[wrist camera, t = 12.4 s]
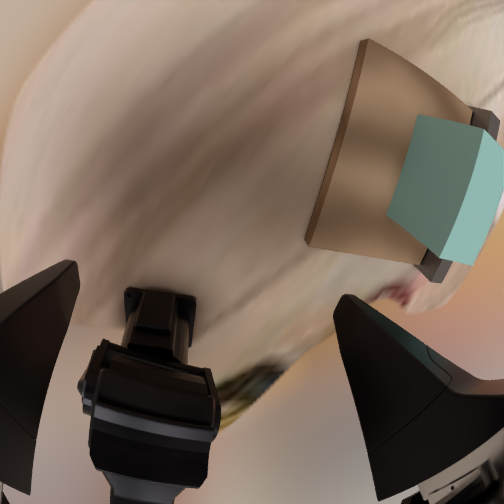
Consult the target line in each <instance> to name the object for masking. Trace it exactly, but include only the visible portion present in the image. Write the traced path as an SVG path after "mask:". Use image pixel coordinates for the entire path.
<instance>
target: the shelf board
mask: <svg viewBox="0 0 504 504" xmlns="http://www.w3.org/2000/svg"><path fill="white" fill-rule="evenodd" d="M418 114H419V115H425V116H430V117H435V118H441V119H445V120H450V121H454V122H459V123H463V124H467V125H470V121H471V116H472V110H471V109H470V108H469V107H468V106H467V105H466V104H465V103H463V102H462V101H461V100H460V99H459V98H458V97H456V96H455V95H454V94H453V93H452V92H450V91H449V90H448V89H447V88H445V87H444V86H443V85H442V84H440V83H439V82H438V81H436V80H435V79H434V78H432V77H431V76H429V75H428V74H427V73H425V72H424V71H422V70H421V69H419V68H418V67H416V66H415V65H413V64H412V63H410V62H409V61H407V60H406V59H404V58H403V57H401V56H399V55H398V54H396V53H394V52H393V51H391V50H389V49H387V48H386V47H384V46H382V45H380V44H378V43H376V42H375V41H373V40H371V39H369V38H368V39H365V40H362V41H361V42H360V46H359V51H358V55H357V60H356V64H355V68H354V72H353V76H352V81H351V85H350V89H349V92H348V96H347V100H346V104H345V108H344V112H343V115H342V119H341V123H340V126H339V130H338V134H337V137H336V141H335V144H334V148H333V151H332V154H331V158H330V161H329V165H328V168H327V171H326V175H325V178H324V181H323V184H322V188H321V191H320V194H319V197H318V200H317V203H316V206H315V210H314V213H313V216H312V219H311V222H310V225H309V228H308V231H307V234H306V237H305V241H306V243H307V245H308V246H309V247H313V248H319V249H326V250H332V251H338V252H344V253H350V254H357V255H363V256H369V257H375V258H381V259H387V260H392V261H398V262H404V263H410V264H416V265H420V263H421V261H422V259H423V256H424V254H425V252H426V250H427V247H426V246H425V245H423V244H422V243H421V242H420V241H419V240H417V239H416V238H415V237H414V236H413V235H411V234H410V233H409V232H408V231H406V230H405V229H404V228H403V227H401V226H400V225H399V224H397V223H396V222H395V221H394V220H392V219H391V218H390V217H388V216H387V215H386V213H387V211H388V208H389V205H390V203H391V200H392V197H393V194H394V192H395V189H396V186H397V183H398V180H399V177H400V174H401V171H402V168H403V165H404V162H405V158H406V155H407V152H408V148H409V145H410V141H411V138H412V134H413V131H414V127H415V123H416V119H417V115H418Z"/></svg>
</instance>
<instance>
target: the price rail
mask: <svg viewBox="0 0 504 504" xmlns="http://www.w3.org/2000/svg"><path fill="white" fill-rule="evenodd" d="M468 107H469V108H470V109H471V110H472V116H471V121H470V125H471V126H474V127H478V128H482V129H484V130H485V131H486V132H487V133H488V134H489V135H490V136H491V137H492V138H493V139H494V140H495V141H496V140H497V135H498V130H499V125H500V120H499V119H498V118H497V117H496V116H495V114H494V113H493V112H492V111H489V110H485V109H480V108H475V107H470V106H468ZM452 262H453V261H450V260H446V259H441V258H439V257H437V256H436V255H435V254H434V253H433V252H432V251H431V250H429V249H428V248H427V250H426V252H425V254H424V256H423V259H422V261H421V263H420V265H416V264H413V265H414V266H415V267H416V268H417V269H418V270H419V271H420V272H421V273H422V274H423V275H424V276H425V277H426V278H427V279H428V280H429V281H430V282H434V283H442V281H443V280H444V278H445V276H446V274H447V272H448V270H449V268H450V266H451V264H452Z"/></svg>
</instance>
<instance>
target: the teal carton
mask: <svg viewBox="0 0 504 504" xmlns="http://www.w3.org/2000/svg"><path fill="white" fill-rule="evenodd" d="M503 190H504V149H503V148H502V147H501V146H500V145H499V144H498V143H497V142H496V141H495V140H494V139H493V138H492V137H491V136H490V135H489V134H488V133H487V132H486V131H485V130H484V129H482V128H478V127H474V126H471V125H467V124H463V123H459V122H454V121H450V120H445V119H441V118H435V117H430V116H425V115H419V114H418V115H417V119H416V123H415V127H414V131H413V134H412V138H411V141H410V145H409V148H408V152H407V155H406V158H405V162H404V165H403V168H402V171H401V174H400V177H399V180H398V183H397V186H396V189H395V192H394V194H393V197H392V200H391V203H390V205H389V208H388V211H387V213H386V215H387V216H388V217H390V218H391V219H392V220H394V221H395V222H396V223H397V224H399V225H400V226H401V227H403V228H404V229H405V230H406V231H408V232H409V233H410V234H411V235H413V236H414V237H415V238H416V239H417V240H419V241H420V242H421V243H422V244H423V245H425V246H426V247H427V248H428V249H429V250H431V251H432V252H433V253H434V254H435V255H436V256H437V257H439V258H441V259H446V260H450V261H455V262H459V263H463V264H468V265H473V263H474V261H475V259H476V257H477V255H478V253H479V251H480V249H481V247H482V245H483V242H484V240H485V238H486V236H487V233H488V231H489V228H490V226H491V223H492V221H493V218H494V216H495V213H496V210H497V208H498V205H499V202H500V199H501V196H502V193H503Z"/></svg>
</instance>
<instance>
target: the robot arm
mask: <svg viewBox="0 0 504 504" xmlns="http://www.w3.org/2000/svg"><path fill="white" fill-rule="evenodd" d="M79 289H80V279H79V272H78V265H77V263H76V262H75V261H72V260H63V261H61V262H59V263H57V264H55V265H53V266H51V267H49V268H47V269H45V270H43V271H41V272H39V273H37V274H35V275H33V276H32V277H30V278H28V279H26V280H24V281H22V282H20V283H19V284H17V285H15V286H13V287H11V288H9V289H8V290H6V291H4V292H2V293H1V294H0V504H9V502H8V500H7V498H6V496H5V495H4V493H3V491H2V490H3V483H4V484H6V485H8V486H10V487H12V488H14V489H16V490H18V491H20V492H23V493H25V494H27V495H30V492H31V478H32V468H33V459H34V453H35V446H36V438H37V433H38V428H39V423H40V418H41V414H42V409H43V405H44V401H45V397H46V393H47V390H48V386H49V383H50V379H51V376H52V372H53V369H54V366H55V363H56V360H57V357H58V354H59V351H60V348H61V346H62V343H63V340H64V337H65V335H66V332H67V329H68V326H69V323H70V319H71V316H72V312H73V309H74V305H75V302H76V299H77V296H78V293H79ZM128 293H131V294H132V295H130V294H128ZM124 302H125V314H126V324H127V325H126V329H125V332H124V336H123V340H122V343H121V346H119V345H117V344H114V343H111V342H109V340H106V339H103V340H102V342H101V344H100V346H97V348H96V350H94V351H93V353H92V356H91V360H90V362H89V365H88V367H87V369H86V370H85V372H84V374H83V375H82V377H81V378H80V380H79V382H78V386H77V389H78V391H79V393H80V394H81V396H82V403H83V413H84V414H87V415H90V416H91V421H90V430H89V441H88V445H89V448H90V457H91V459H92V462H93V464H94V466H95V468H96V470H98V471H101V472H103V474H104V476H105V478H106V479H107V481H108V482H109V484H110V486H111V491H110V504H174V499H175V497H176V496H178V495H179V494H180V493H181V492H182V491H183V490H184V489H185V488H196V489H198V488H199V487H200V486H201V485H202V484H203V482H204V481H205V479H206V478H207V474H208V472H207V471H208V459H209V451H210V445H211V442H212V441H213V440H214V439H215V438H216V436H217V433H218V430H219V426H220V420H221V405H220V401H219V397H218V394H217V390H216V387H215V383H214V380H213V376H212V372H211V369H209V368H199V367H195V366H190V365H187V364H188V348H189V347H191V343H192V335H193V327H194V319H195V311H196V303H197V301H196V299H195V298H194V297H192V296H184V295H176V294H169V293H161V292H154V291H147V290H141V289H134V288H127V289H126V290H125V292H124ZM189 302H193V303H189ZM333 320H334V324H335V329H336V334H337V339H338V344H339V349H340V353H341V357H342V360H343V364H344V367H345V370H346V374H347V377H348V380H349V384H350V388H351V391H352V395H353V398H354V402H355V406H356V409H357V413H358V417H359V421H360V425H361V428H362V432H363V436H364V440H365V445H366V449H367V452H368V458H369V462H370V467H371V471H372V476H373V481H374V486H375V491H376V496H377V499H378V501H381V500H384V499H386V498H389V497H391V496H394V495H396V494H398V493H401V492H403V491H405V490H407V489H409V488H411V487H414V486H416V485H418V487H419V490H420V491H418V492H416V493H414V494H413V495H411V496H409V497H407V498H405V499H403V500H402V502H401V504H504V379H499V380H481V379H479V378H476V377H474V376H473V375H471V374H470V373H468V372H466V371H465V370H463V369H462V368H460V367H458V366H457V365H455V364H454V363H452V362H451V361H449V360H448V359H446V358H444V357H443V356H441V355H440V354H439V353H437V352H436V351H434V350H433V349H431V348H430V347H428V346H427V345H425V344H424V343H423V342H421V341H420V340H419V339H417V338H416V337H414V336H413V335H411V334H410V333H409V332H407V331H406V330H404V329H403V328H401V327H400V326H399V325H397V324H396V323H394V322H393V321H391V320H390V319H388V318H387V317H386V316H384V315H383V314H381V313H379V312H378V311H377V310H375V309H374V308H372V307H371V306H370V305H368V304H367V303H365V302H364V301H362V300H361V299H359V298H358V297H356V296H355V295H351V294H344V295H342V296H341V298H340V300H339V302H338V304H337V306H336V308H335V310H334V313H333Z"/></svg>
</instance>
